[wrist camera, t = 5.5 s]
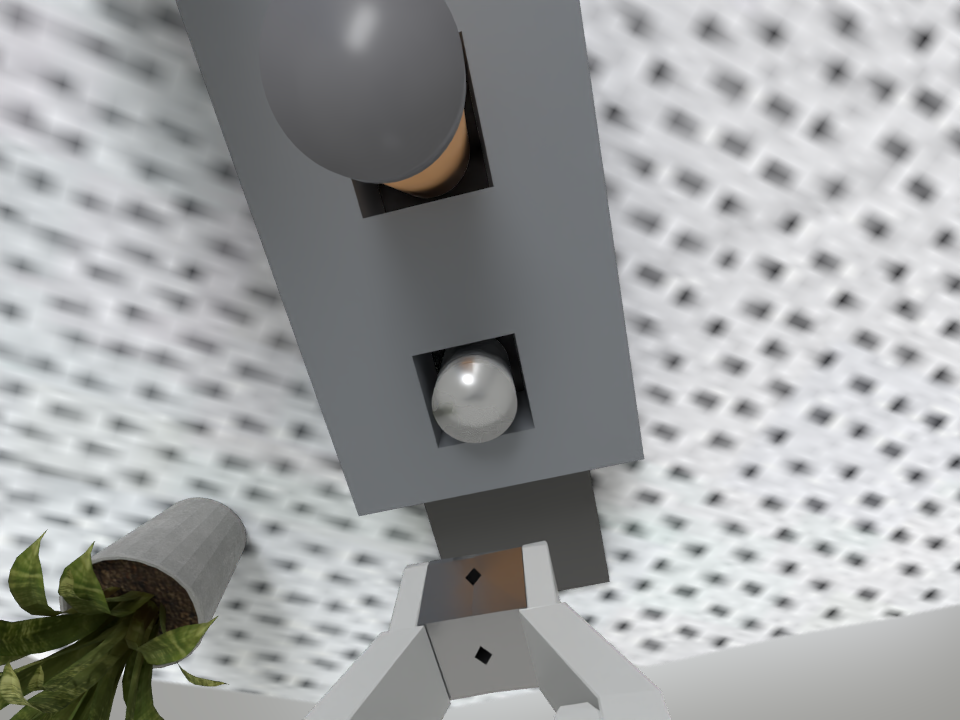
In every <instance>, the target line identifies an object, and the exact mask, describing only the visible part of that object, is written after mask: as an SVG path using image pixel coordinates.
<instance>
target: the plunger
mask: <svg viewBox="0 0 960 720" xmlns="http://www.w3.org/2000/svg"><path fill="white" fill-rule="evenodd" d="M432 410H433V414H434V417H435V419H436V421H437V423H438V425H439V426H440V427H441V428H442V430H443V431H444V432H446V433H447V434H448V435H450V436H451V437H453V438H455V439H457V440H459V441H462V442H467V443H482V442H487V441H490V440H492V439H495V438H497V437H498V436H500V435H501V434H503V433H504V432H505V431H506V430H507V429H508V428H509V426H510V425H511V423H512V422H513V420H514V417H515V415H516V411H517V396H516V391H515V386H514V381H513V377H512V372H511V367H510V362H509V358H508V354H507V352H506V350H505V348H504V347H503V346H502V344H501V343H500V342H499V341H498V340H496V339H495V338H491V339H486V340H482V341H477V342H473V343H468V344H464V345H459V346H455V347H450V348H447V349H446V351H445V354H444V356H443V360H442V363H441V367H440V371H439V374H438V378H437V381H436V385H435V388H434V392H433V396H432Z"/></svg>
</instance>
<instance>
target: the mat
mask: <svg viewBox="0 0 960 720" xmlns="http://www.w3.org/2000/svg"><path fill="white" fill-rule="evenodd" d="M424 504H425V507H426V511H427V514H428V517H429V520H430V524H431V527H432V530H433V534H434V537H435V540H436V543H437V547H438V550H439V553H440V557H441V559H447V558H454V557H461V556H467V555H474V554H480V553H486V552H491V551H497V550H502V549H508V548H513V547H519V546H523V545H526V544H530V543H535V542H540V541H546V542H547V544H548V548H549V553H550V557H551V562H552V566H553V571H554V575H555V580H556V584H557V589H558V591H561V590H566V589H572V588H577V587H583V586H588V585H594V584H599V583H605V582H610V581H609V575H608V570H607V564H606V559H605V553H604V547H603V542H602V536H601V531H600V525H599V520H598V514H597V509H596V503H595V498H594V492H593V487H592V481H591V476H590V470H587V471H582V472H577V473H572V474H567V475H562V476H557V477H552V478H547V479H542V480H537V481H532V482H527V483H522V484H517V485H512V486H507V487H502V488H497V489H492V490H487V491H482V492H477V493H472V494H467V495H462V496H457V497H452V498H447V499H442V500H437V501H432V502H427V503H424Z"/></svg>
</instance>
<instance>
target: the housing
mask: <svg viewBox="0 0 960 720" xmlns="http://www.w3.org/2000/svg"><path fill="white" fill-rule="evenodd" d="M270 2H271V0H176V3H177V6H178V9H179V11H180V14H181V17H182V20H183V23H184V25H185V28H186V31H187V34H188V37H189V39H190V42H191V45H192V48H193V51H194V54H195V56H196V59H197V62H198V65H199V68H200V70H201V73H202V76H203V79H204V82H205V84H206V87H207V90H208V93H209V96H210V99H211V101H212V104H213V107H214V110H215V113H216V115H217V118H218V121H219V124H220V127H221V129H222V132H223V135H224V138H225V141H226V144H227V146H228V149H229V152H230V155H231V158H232V160H233V163H234V166H235V169H236V172H237V174H238V177H239V180H240V183H241V186H242V189H243V191H244V194H245V197H246V200H247V203H248V205H249V208H250V211H251V214H252V217H253V220H254V222H255V225H256V228H257V231H258V234H259V236H260V239H261V242H262V245H263V248H264V250H265V253H266V256H267V259H268V262H269V265H270V267H271V270H272V273H273V276H274V279H275V281H276V284H277V287H278V290H279V293H280V295H281V298H282V301H283V304H284V307H285V310H286V312H287V315H288V318H289V321H290V324H291V326H292V329H293V332H294V335H295V338H296V340H297V343H298V346H299V349H300V352H301V355H302V357H303V360H304V363H305V366H306V369H307V371H308V374H309V377H310V380H311V383H312V385H313V388H314V391H315V394H316V397H317V400H318V402H319V405H320V408H321V411H322V414H323V416H324V419H325V422H326V425H327V428H328V430H329V433H330V436H331V439H332V442H333V445H334V447H335V450H336V453H337V456H338V459H339V461H340V464H341V467H342V470H343V473H344V475H345V478H346V481H347V484H348V487H349V490H350V492H351V495H352V498H353V501H354V504H355V506H356V509H357V512H358V515H359V516H362V515H367V514H372V513H377V512H382V511H387V510H392V509H397V508H402V507H407V506H412V505H417V504H422V503H427V502H432V501H437V500H442V499H447V498H452V497H457V496H462V495H467V494H472V493H477V492H482V491H487V490H492V489H497V488H502V487H507V486H512V485H517V484H522V483H527V482H532V481H537V480H542V479H547V478H552V477H557V476H562V475H567V474H572V473H577V472H582V471H587V470H592V469H597V468H602V467H607V466H612V465H617V464H622V463H627V462H632V461H637V460H642V459H644V454H643V447H642V440H641V433H640V426H639V419H638V412H637V405H636V398H635V391H634V384H633V377H632V369H631V362H630V355H629V348H628V341H627V334H626V327H625V320H624V313H623V306H622V299H621V292H620V284H619V277H618V270H617V263H616V256H615V249H614V242H613V235H612V228H611V221H610V214H609V207H608V199H607V192H606V185H605V178H604V171H603V164H602V157H601V150H600V143H599V136H598V129H597V122H596V114H595V107H594V100H593V93H592V86H591V79H590V72H589V65H588V58H587V51H586V44H585V37H584V29H583V22H582V15H581V8H580V1H579V0H445V2H446V4H447V6H448V8H449V10H450V11H451V13H452V16H453V18H454V21H455V23H456V26H457V29H458V32H459V36H460V40H461V44H462V50H463V57H464V65H465V73H466V77H467V82H468V87H469V92H470V96H471V101H472V106H473V111H474V115H475V120H476V125H477V130H478V135H479V139H480V144H481V149H482V154H483V158H484V163H485V168H486V173H487V177H488V182H489V187H490V188H486V189H482V190H478V191H473V192H469V193H465V194H461V195H457V196H453V197H449V198H445V199H441V200H437V201H433V202H428V203H424V204H420V205H416V206H412V207H408V208H404V209H400V210H396V211H392V212H388V213H385V210H384V206H383V203H382V199H381V195H380V192H379V188H378V184H375V183H366V182H361V181H357V180H354V179H351V178H348V177H345V176H342V175H339V174H337V173H334V172H332V171H329V170H327V169H325V168H324V167H322V166H320V165H318V164H316V163H315V162H314V161H312V160H311V159H310V158H308V157H307V156H306V155H304V154H303V153H302V152H301V151H300V150H299V149H298V148H297V147H296V146H295V145H294V144H293V143H292V142H291V140H290V139H289V138H288V137H287V136H286V134H285V133H284V131H283V130H282V128H281V127H280V125H279V124H278V122H277V120H276V118H275V116H274V114H273V113H272V111H271V108H270V106H269V103H268V100H267V98H266V95H265V91H264V87H263V84H262V79H261V72H260V62H259V46H260V35H261V30H262V25H263V20H264V18H265V15H266V12H267V9H268V6H269V4H270ZM509 334H513V337H514V342H515V347H516V351H517V356H518V361H519V365H520V370H521V375H522V379H523V384H524V389H525V390H523V391H519V392H516V396H517V411H516V415H515V417H514V420H513V422H512V423H511V425H510V426H509V428H508V429H507V430H506V431H505V432H504V433H503V434H501V435H500V436H498V437H497V438H495V439H492V440H490V441H487V442H482V443H467V442H462V441H459V440H457V439H455V438H453V437H451V436H450V435H448V434H447V433H446V432H444V431H443V430H442V428H441V427H440V426H439V425H438V423H437V421H436V419H435V417H434V414H433V410H432V396H433V392H434V388H435V385H436V381H437V378H438V376H437V372H436V368H435V365H434V361H433V357H432V354H431V352H432V351H437V350H441V349H446V348H450V347H455V346H459V345H464V344H468V343H473V342H477V341H482V340H486V339H491V338H495V337H500V336H504V335H509Z"/></svg>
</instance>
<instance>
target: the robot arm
mask: <svg viewBox="0 0 960 720" xmlns="http://www.w3.org/2000/svg"><path fill="white" fill-rule="evenodd" d="M535 687H539V688H540V691H541V692H542V693H543V695H544V696H545V698H546V699H547V700H548V702H549V703H550V705H551V706H552V707H553V709H554V710H555V712H556V714H555V715H554V720H672V719H671V717H670V714H669V711H668V708H667V706H666V703H665V700H664V697H663V694H662V692H661V690H660V689H659V688H658V687H657V686H656V685H655V684H654V683H653V682H652V681H651V680H649V679H648V678H647V677H646V676H645V675H644V674H643V673H642V672H641V671H640V670H639V669H638V668H636V667H635V666H634V665H633V664H632V663H631V662H630V661H629V660H628V659H627V658H626V657H624V656H623V655H622V654H621V653H620V652H619V651H618V650H617V649H616V648H615V647H613V646H612V645H611V644H610V643H609V642H608V641H607V640H606V639H605V638H604V637H603V636H601V635H600V634H599V633H598V632H597V631H596V630H595V629H594V628H593V627H592V626H591V625H589V624H588V623H587V622H586V621H585V620H584V619H583V618H582V617H581V616H580V615H578V614H577V613H576V612H575V611H574V610H573V609H572V608H571V607H570V606H569V605H568V604H566V603H565V602H563V603H561V602H560V598H559V593H558V589H557V584H556V580H555V575H554V571H553V566H552V562H551V557H550V553H549V548H548V544H547V542H546V541H540V542H535V543H530V544H526V545H523V546H519V547H513V548H508V549H502V550H497V551H491V552H486V553H480V554H474V555H467V556H461V557H454V558H447V559H441V560H434V561H430V562H424V563H417V564H411V565H407V566H406V568H405V569H404V571H403V575H402V579H401V583H400V587H399V591H398V595H397V599H396V603H395V607H394V611H393V615H392V619H391V623H390V627H389V631H387V632H381V633H380V634H379V635H378V637H377V638H376V639H375V640H374V641H373V642H372V643H371V644H370V645H369V647H368V648H367V649H366V650H365V651H364V652H363V653H362V654H361V655H360V657H359V658H358V659H357V660H356V661H355V662H354V663H353V664H352V665H351V667H350V668H349V669H348V670H347V671H346V672H345V673H344V674H343V675H342V677H341V678H340V679H339V680H338V681H337V682H336V683H335V684H334V685H333V686H332V688H331V689H330V690H329V691H328V692H327V693H326V694H325V695H324V696H323V698H322V699H321V700H320V701H319V702H318V703H317V704H316V705H315V706H314V708H313V709H312V710H311V711H310V712H309V713H308V714H307V715H306V716H305V718H304V719H303V720H442V719H443V717H444V715H445V713H446V711H447V709H448V707H449V706H450V704H451V703H450V700H455V699H460V698H466V697H471V696H477V695H482V694H488V693H493V692H501V691H510V690H518V689H527V688H535Z"/></svg>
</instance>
